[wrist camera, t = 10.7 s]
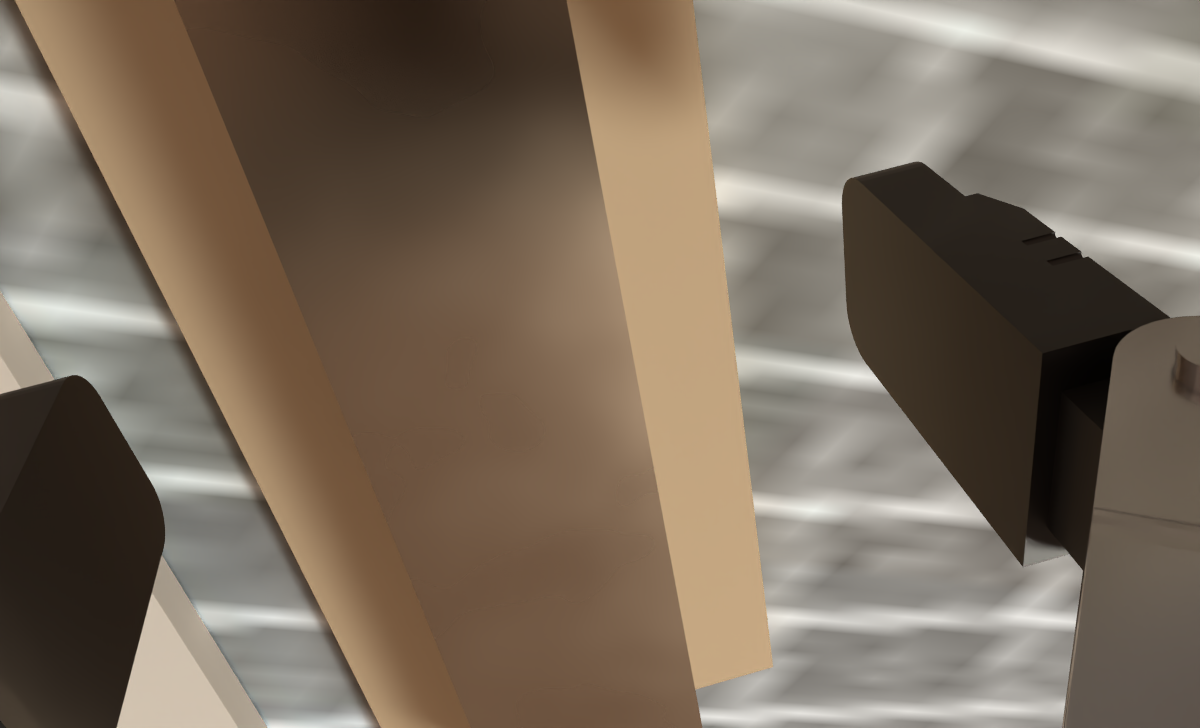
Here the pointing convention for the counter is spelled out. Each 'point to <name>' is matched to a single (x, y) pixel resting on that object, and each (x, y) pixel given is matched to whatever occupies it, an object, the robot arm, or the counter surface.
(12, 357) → the rack
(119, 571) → the robot arm
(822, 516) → the counter surface
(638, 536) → the rail
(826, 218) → the counter surface
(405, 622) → the tray
